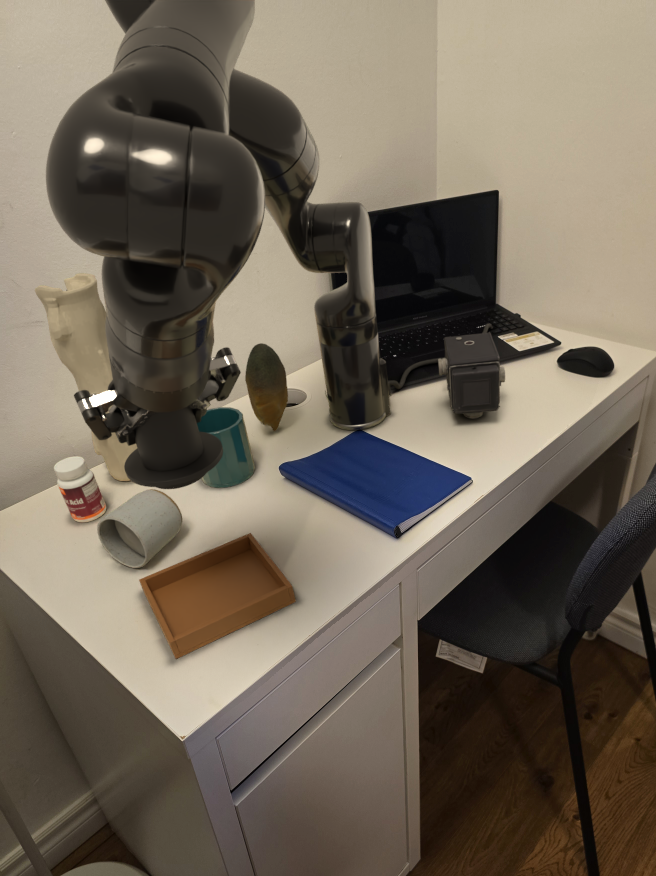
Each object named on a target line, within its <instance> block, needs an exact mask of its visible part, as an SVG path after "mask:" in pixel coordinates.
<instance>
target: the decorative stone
mask: <svg viewBox="0 0 656 876" xmlns="http://www.w3.org/2000/svg"><path fill="white" fill-rule="evenodd" d="M244 379H245V381H244V382H245V385H246V389H247V393H248V394H247V395H248V398H249V402H250V406H251V409H252V411H253V414H254V416H255V417H256V419H257V420H258V421H259V422H260V423H261V424H262V425H264V426H270V428H271V430H272V431H273V432H277V430H278V428H279V426H280V424H281V421H282V418H283V415H284V413H285V411H286V408H287V406H288V402H289V391H288V379H287V372H286V368H285V366H284V364H283V362H282V360H281V358H280V356H279V354H278V353H277V352H276V351H275V350H274V348H272V347H271V346H270V345H268V344H266V343H257V344H255V345H254V346H253V347H252V348H251V350H250V352H249V354H248V358H247V362H246V367H245V376H244Z"/></svg>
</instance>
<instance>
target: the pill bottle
mask: <svg viewBox="0 0 656 876" xmlns="http://www.w3.org/2000/svg"><path fill="white" fill-rule="evenodd" d="M53 471H54V473H55V476H56V477H57V480H56V484H57V487H58V489H59V491H60V494H61V496H62V498H63V500H64V503H65V505H66V508H67V509H68V512H69V514H70V516H71V519H73V521H75V522H77V523H88V522H93V521H95V520H98V519H99V518H100V517H102V516H103V515H104V514H105V513H106V511H107V504H106V502H105V499H104V497H103V495H102V492H101V489H100V486H99V485H98V482H97V479H96V477H95V473H94V472H93V470H92V469H90V468H88V465H87V463H86V459H84V457H82V456H80V455H79V456H78V455H77V456H76V455H75V456H69V457H65V458H63V459H61V460H59V461H58V462H56V463H55V465H54V466H53Z"/></svg>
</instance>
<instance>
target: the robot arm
mask: <svg viewBox="0 0 656 876" xmlns="http://www.w3.org/2000/svg"><path fill="white" fill-rule="evenodd" d="M104 2H105V3H106V5H107V8H108V9H109V10H110V13H111V14H112V16H113V17H114V19H115V21H116V22H117V24H118V25H119V27H120V29H121V30H122V31H123V33H124V36H123V38H122V39H121V42H120V43H119V46H118V49H117V52H116V56H115V59H114V63H113V66H112V71H111V73H110V74H109V75H108V76H106V77H105V78H103V79H102V80H100V81H98V83H96V84H94V85H93V86H92V87H90V88H89V89H87V90H86V91H85V92H83V93H82V94H81V95H80V96H79V97H78V98H77V99H76V100H75V101H74V102H72V103H71V105H70V106H69V107H68V109H67V110H66V111H65V113H64V114H63V117H62V118H61V120H60V121H59V122H58V125H57V127H56V129H55V131H54V133H53V136H52V137H51V142H50V145H49V148H48V153H47V158H46V163H45V164H46V165H45V185H46V194H47V198H48V203H49V207H50V209H51V212H52V214H53V216H54V218H55V220H56V221H57V223H58V225H59V227H60V228H61V229H62V231H63V232H64V233H65V235H67V237H68V238H69V239H70V240H71V241H72V242H73V243H74V244H76V245H77V246H79V247H80V248H81V249H83V250H84V251H87V252H89V253H91V254H94V255H97V256H100V257H103V259H102V262H101V263H102V264H101V285H102V292H103V299H104V305H105V306H104V308H105V311H106V320H105V331H106V339H107V346H108V352H109V359H110V365H111V371H112V378H113V380H112V381H111V383H110V384H109V386H108V391H106V392H103V393H101V394H98V395H97V394H96V393H94V394H92V395H91V394H90V393H89V391H88V390H82V391H79V390H78V391H76V392H75V393H74V394H73V397H74V399H75V403H76V405H77V407H78V410H79V412H80V414H81V416H82V419H83V420H84V422H85V424H86V426H88V428H89V429H90V430H92V432H93V433H94V434H95V436H96V437H97V438H98V440H106V439H108V438H110V437H111V436H112V434H111V433H114V432H115V434H116V436H117V438H118V440H119V442H120V443H125V442H127V444H128V446H130V445H133V444H136V442H135V432H134V429H135V427H138V426H144V424H145V423H146V422H147V421H148V420H149V419H150V418H151V416H152V415H153V414H157V413H158V412H172V411H177V410H180V409H183V408H185V407H189V408H191V409H193V412H194V416H195V419H196V423H198V422H201V417H202V416H204V415H205V414H206V412H207V410H208V409H209V407H210V406H211V402H212V401H213V400H216V401H217V402H223V401H225V400H227V399H229V397H230V395H231V393H232V391H233V389H234V387H235V385H236V383H237V381H238V379H239V377H240V375H241V373H242V372H241V369H240V366H239V365H238V362H237V361H236V359H235V357H234V355H233V352H232V351H231V348H230V347H228V346H226V347H223V348H220V349H219V350H218V351H217V352H216V354H215V357H212V356H213V349H214V346H215V345H214V344H215V326H214V318H215V311H216V303H217V301H218V299H219V298H220V297H221V295H222V294H223V293H224V292H225V290H226V289H227V288H228V287H229V286H230V285H231V284H232V282H234V280H235V279H236V278H237V276H238V275H239V274H240V272H241V271H242V270H243V268H244V266H245V265H246V263H247V262H248V260H249V259H250V256H251V255H252V253H253V252H254V249H255V247H256V244H257V241H258V239H259V237H260V233H261V231H262V227H263V223H264V219H265V213H266V211H267V213H268V215H269V216H270V217H271V219H272V220H273V221H274V223H275V224H276V226H277V228H278V229H279V231H280V233H281V235H282V237H283V239H284V240H285V242H286V244H287V246H288V248H289V250H290V251H291V254H292V255H293V257H294V258H295V260H296V262H297V263H298V264H299V265H300V266H301V268H302V269H304V270H305V271H307V272H310V273H314V274H335V273H338V274H340V273H346V275H347V278H346V279H347V280H346V281H347V282H346V283H344V284H343V285H341V286H339V287H337V288H335V289H332V290H330V291H328V292H325V293H323V294H322V295H320V296H319V297H318V298H317V299H316V300H315V302H314V305H313V310H314V319H315V323H316V330H317V337H318V342H319V343H318V344H319V350H320V357H321V363H322V370H323V377H324V384H325V390H324V392H325V393H324V394H325V398H326V400H327V403H328V404H327V405H328V412H329V420H330V423H331V424H332V425H333V426H334V427H336V428H338V429H342V430H346V431H347V430H348V431H357V430H366V429H370V428H373V427H375V426H378V424H381V423H382V422H383V421H384V420H385V418H386V417H387V416H391V414H392V413H391V403H390V401H391V400H390V397H391V396H392V393H391V392H392V391H391V386H394V388H395V389H396V390H401V389H402V388H403V387H404V385H405V383H406V379H407V378H408V376H409V374H411V372H412V371H413V370H415V369H417V368H419V367H423V366H428V365H432V364H438V359H443V358H445V356H444V357H437V358H431V359H426V360H421V361H419V362H416V363H413V364H411V365H410V366H408V367H407V368H406V369H405V370H404V371H403V374H402V376H401V378H400V381H399V382H398V381H397V380H393V379H392V380H388V370H387V361H386V360H385V359H383V358H382V357H381V350H380V340H379V339H380V338H379V332H378V331H379V329H378V319H377V310H376V295H375V294H376V293H375V291H376V290H375V278H374V265H373V264H374V263H373V238H372V237H373V235H372V225H371V219H370V216H369V213H368V210H367V208H366V206H365V205H364V204H363V203H362V202H360V201H359V202H358V201H345V202H344V201H343V202H323V203H312V202H309V201H308V200H309V198H310V196H311V195H312V193H313V190H314V188H315V186H316V183H317V180H318V178H319V177H318V176H319V171H320V153H319V152H320V151H319V149H318V145H317V143H316V140H315V138H314V136H313V133H311V131H310V129H309V127H308V125H307V123H306V120H305V118H304V117H303V114H302V113H301V111H300V109H299V107H298V106H297V105H296V103H295V102H294V101H293V100H292V99H291V98H290V97H289V96H288V95H287V94H285V93H284V92H283V91H282V90H280V89H278V88H276V87H275V86H273V85H272V84H270V83H268V82H266V81H264V80H261V79H260V78H257V77H255V76H252V75H250V74H248V73H245V72H243V71H240V70H238V69H235V67H236V65H237V62H238V59H239V57H240V54H241V52H242V50H243V47H244V45H245V42H246V39H247V37H248V35H249V33H250V30H251V28H252V25H253V24H254V23H253V22H254V19H255V15H256V14H255V13H256V0H104ZM492 329H494V327H493V325H492V324H491V323H486V324H485V325H484V328H483V330H482V333H488V331H489V330H492ZM112 405H113V406H112ZM110 406H112V407H111V408H110V410H109V407H110ZM108 410H109V413H106V412H108Z"/></svg>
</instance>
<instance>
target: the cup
mask: <svg viewBox="0 0 656 876" xmlns="http://www.w3.org/2000/svg"><path fill="white" fill-rule="evenodd" d="M197 426H198V430H199V432H205V433H209V434H212V435H214V436H215V437H217V438H218V439H219V440H220V441H221V444H222V447H223V455H222V458H221V460H220V461H219V462H218V464H217V465H216V466H215V467H213V468H212V469H211V470H210V471H208V472H207V473H206V474H205V475H204V476H203V477H202V478H201V481H202V482H203V484H204V485H206V486H207V487H211V488H216V489H218V488H219V489H223V488H229V487H234V486H238V485H240V484H242V483H243V482H246V481H248V480H249V479H250V478H251V477H252V476H253V475H254V473H255V471H256V466H255V460H254V455H253V452H252V447H251V444H250V440H249V439H250V438H249V435H248V431H247V427H246V421H245V418H244V414H243V412H242V411H241V410H240V409H238V408H234V407H230V406H227V407H226V406H220V407H219V406H218V407H214V408H207V412H206V414H205V415H204V416H202V417H201V422H198V423H197Z"/></svg>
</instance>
